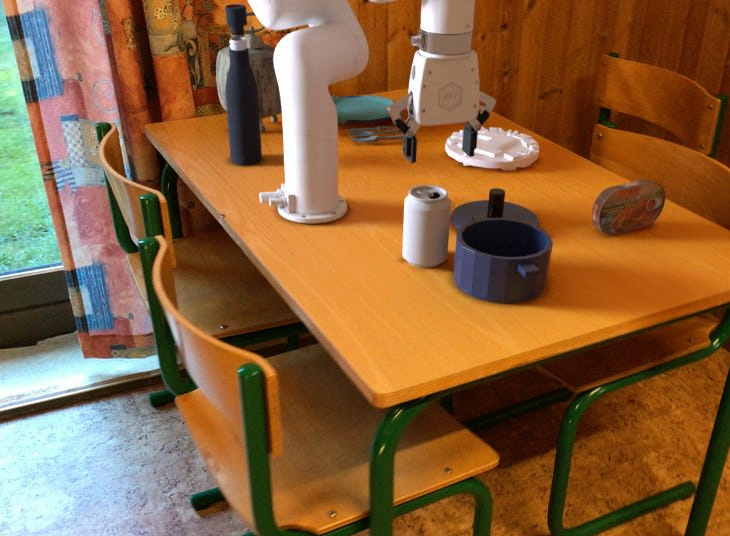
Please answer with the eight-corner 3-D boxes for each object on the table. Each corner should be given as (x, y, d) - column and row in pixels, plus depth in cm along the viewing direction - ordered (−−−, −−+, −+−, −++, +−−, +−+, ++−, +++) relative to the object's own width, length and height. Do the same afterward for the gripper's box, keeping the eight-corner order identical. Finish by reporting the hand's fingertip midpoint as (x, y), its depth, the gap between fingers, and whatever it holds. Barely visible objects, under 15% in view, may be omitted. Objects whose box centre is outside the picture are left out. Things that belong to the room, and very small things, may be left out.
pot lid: (471, 247, 144) (474, 213, 140) (438, 211, 156) (440, 179, 152) (553, 236, 148) (558, 203, 144) (514, 202, 160) (518, 171, 157)
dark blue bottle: (225, 162, 173) (211, 7, 157) (240, 152, 178) (229, 1, 161) (252, 167, 171) (241, 11, 155) (267, 157, 176) (259, 4, 160)
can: (443, 272, 136) (448, 202, 129) (398, 267, 137) (400, 197, 130) (450, 252, 142) (455, 184, 135) (406, 247, 143) (409, 180, 136)
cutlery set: (389, 101, 211) (389, 91, 209) (425, 141, 187) (425, 131, 186) (311, 105, 206) (310, 96, 205) (337, 147, 182) (337, 137, 181)
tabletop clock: (278, 119, 197) (273, 5, 183) (296, 130, 191) (292, 13, 177) (220, 128, 190) (210, 11, 176) (236, 141, 184) (227, 20, 170)
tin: (596, 239, 147) (604, 194, 143) (584, 232, 150) (592, 187, 145) (661, 224, 153) (671, 180, 149) (649, 217, 156) (659, 174, 151)
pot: (482, 318, 124) (487, 273, 120) (434, 258, 140) (436, 216, 136) (570, 304, 128) (578, 260, 124) (514, 247, 144) (518, 207, 140)
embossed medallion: (427, 147, 184) (428, 133, 182) (501, 134, 192) (502, 121, 190) (480, 178, 169) (481, 164, 168) (557, 163, 178) (559, 149, 176)
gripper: (398, 52, 116) (395, 171, 126) (511, 44, 121) (500, 159, 131) (380, 39, 122) (378, 154, 132) (489, 33, 127) (480, 143, 136)
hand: (439, 156), depth 131 cm, fingers open, 9 cm apart
